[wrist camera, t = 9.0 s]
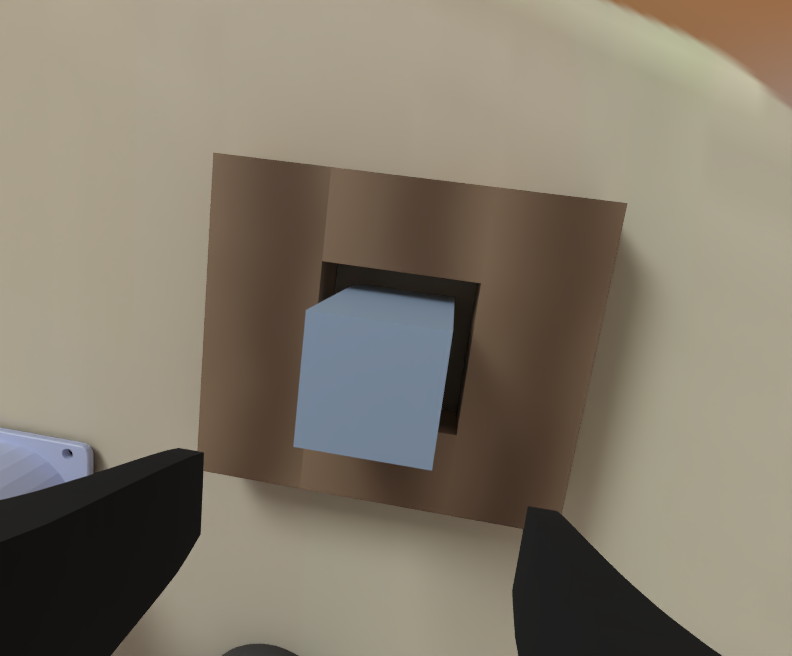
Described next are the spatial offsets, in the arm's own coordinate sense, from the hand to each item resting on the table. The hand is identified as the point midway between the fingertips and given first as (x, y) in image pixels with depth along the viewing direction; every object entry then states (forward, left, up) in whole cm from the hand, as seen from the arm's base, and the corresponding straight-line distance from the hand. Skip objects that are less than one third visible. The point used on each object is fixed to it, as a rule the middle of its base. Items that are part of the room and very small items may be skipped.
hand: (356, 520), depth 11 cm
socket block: (0, +2, -10) cm, 11 cm away
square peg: (0, +2, -10) cm, 11 cm away
